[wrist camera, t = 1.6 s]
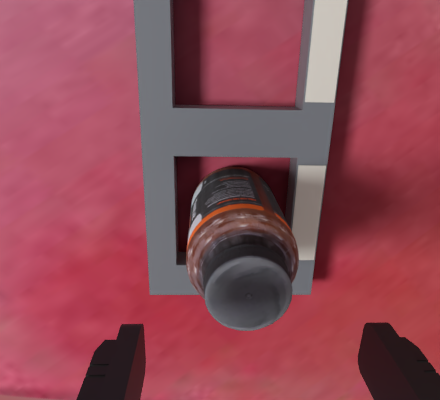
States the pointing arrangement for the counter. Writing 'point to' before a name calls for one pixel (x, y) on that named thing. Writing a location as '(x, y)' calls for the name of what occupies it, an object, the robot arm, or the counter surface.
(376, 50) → the counter surface
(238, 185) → the supplement bottle
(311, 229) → the socket panel
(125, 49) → the counter surface
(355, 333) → the counter surface
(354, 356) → the counter surface
